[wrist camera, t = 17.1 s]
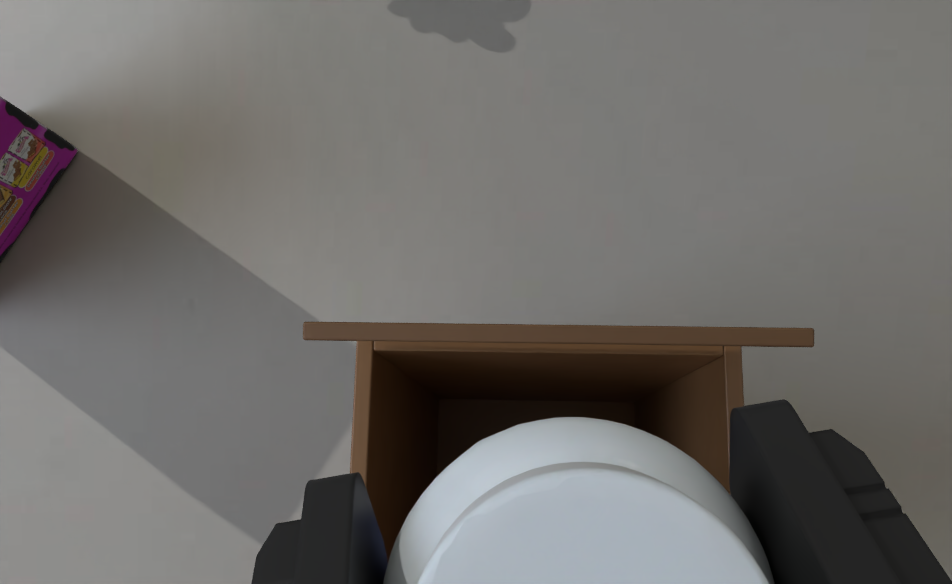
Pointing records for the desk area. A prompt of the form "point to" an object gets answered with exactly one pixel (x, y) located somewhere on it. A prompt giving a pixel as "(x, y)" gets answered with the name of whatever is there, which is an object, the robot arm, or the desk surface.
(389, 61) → the desk surface
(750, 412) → the robot arm
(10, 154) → the candy bar box
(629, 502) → the pill bottle
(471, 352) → the open wooden box
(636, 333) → the hatch
